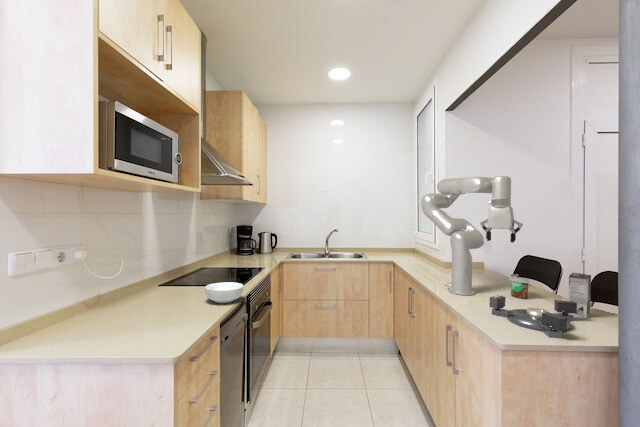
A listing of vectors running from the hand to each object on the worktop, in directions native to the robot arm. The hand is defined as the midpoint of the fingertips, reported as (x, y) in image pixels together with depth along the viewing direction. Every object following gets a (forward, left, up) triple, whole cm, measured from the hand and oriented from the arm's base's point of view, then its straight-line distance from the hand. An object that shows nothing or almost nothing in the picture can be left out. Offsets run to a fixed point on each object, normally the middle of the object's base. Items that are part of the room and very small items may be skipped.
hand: (500, 241), depth 151 cm
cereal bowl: (-90, -87, -29) cm, 128 cm away
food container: (+2, +20, -28) cm, 35 cm away
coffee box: (+28, +8, -28) cm, 41 cm away
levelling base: (+16, -17, -28) cm, 36 cm away
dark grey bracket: (+4, -17, -25) cm, 31 cm away
